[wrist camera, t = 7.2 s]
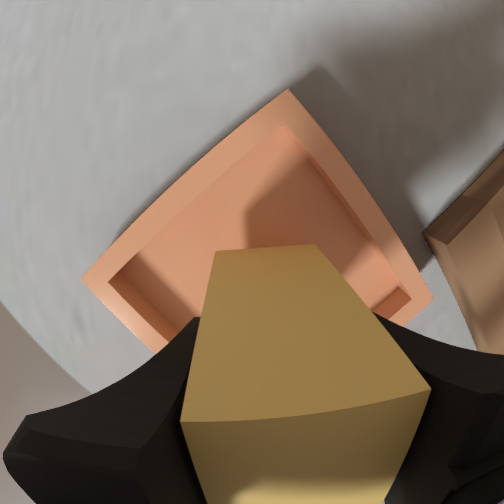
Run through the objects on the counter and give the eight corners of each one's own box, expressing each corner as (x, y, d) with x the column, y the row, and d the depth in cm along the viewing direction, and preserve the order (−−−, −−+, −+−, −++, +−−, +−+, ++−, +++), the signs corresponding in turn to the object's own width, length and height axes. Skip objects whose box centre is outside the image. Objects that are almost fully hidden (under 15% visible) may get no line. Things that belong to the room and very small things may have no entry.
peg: (315, 244, 13) (431, 388, 4) (313, 330, 14) (382, 502, 5) (215, 250, 13) (180, 421, 4) (224, 337, 14) (215, 525, 5)
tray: (411, 281, 17) (434, 299, 14) (249, 401, 18) (251, 430, 16) (279, 99, 14) (287, 88, 11) (100, 262, 16) (80, 279, 13)
